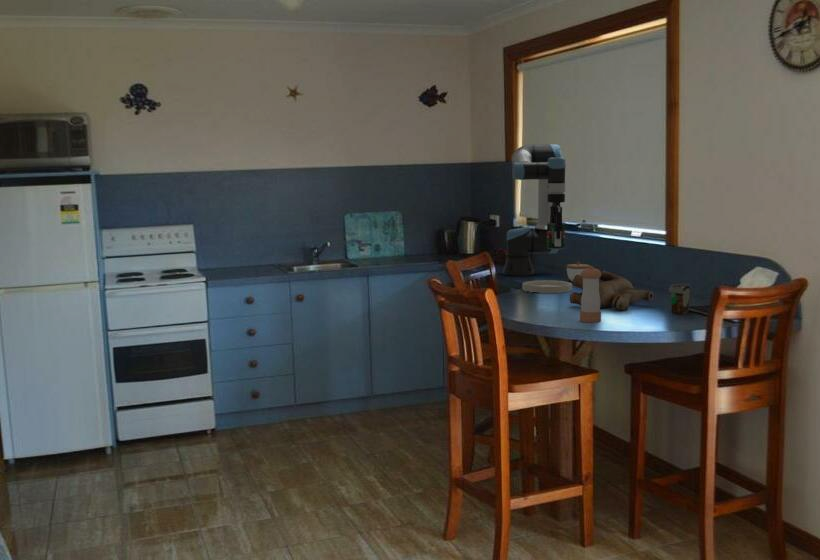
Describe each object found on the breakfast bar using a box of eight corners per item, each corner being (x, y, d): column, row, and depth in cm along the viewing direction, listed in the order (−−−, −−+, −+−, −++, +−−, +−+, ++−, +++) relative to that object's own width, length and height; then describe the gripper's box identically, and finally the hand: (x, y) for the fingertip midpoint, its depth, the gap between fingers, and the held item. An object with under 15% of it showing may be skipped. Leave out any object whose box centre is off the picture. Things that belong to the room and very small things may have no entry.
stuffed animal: (569, 270, 324) (630, 283, 309) (604, 269, 348) (663, 281, 333) (563, 303, 326) (624, 318, 311) (599, 300, 350) (657, 313, 335)
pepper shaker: (591, 323, 293) (591, 267, 290) (575, 320, 299) (576, 266, 296) (605, 320, 297) (606, 266, 294) (589, 318, 303) (590, 264, 300)
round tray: (519, 286, 384) (519, 280, 384) (566, 286, 385) (566, 280, 384) (526, 293, 364) (526, 287, 363) (575, 292, 364) (575, 286, 363)
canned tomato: (568, 248, 371) (568, 223, 370) (552, 249, 368) (552, 224, 367) (558, 247, 378) (559, 222, 377) (543, 247, 376) (543, 223, 374)
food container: (672, 309, 320) (673, 282, 318) (689, 310, 316) (690, 283, 315) (664, 314, 309) (665, 286, 308) (681, 315, 306) (682, 287, 305)
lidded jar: (591, 282, 395) (591, 262, 393) (568, 283, 395) (568, 263, 394) (587, 280, 405) (587, 260, 404) (564, 280, 405) (565, 260, 404)
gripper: (543, 192, 380) (542, 243, 383) (552, 194, 360) (551, 247, 363) (559, 192, 381) (559, 243, 384) (570, 193, 360) (569, 247, 363)
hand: (555, 245), depth 373 cm, fingers closed on canned tomato, 8 cm apart
